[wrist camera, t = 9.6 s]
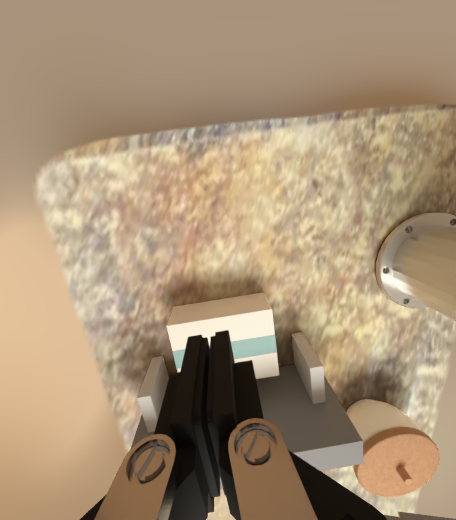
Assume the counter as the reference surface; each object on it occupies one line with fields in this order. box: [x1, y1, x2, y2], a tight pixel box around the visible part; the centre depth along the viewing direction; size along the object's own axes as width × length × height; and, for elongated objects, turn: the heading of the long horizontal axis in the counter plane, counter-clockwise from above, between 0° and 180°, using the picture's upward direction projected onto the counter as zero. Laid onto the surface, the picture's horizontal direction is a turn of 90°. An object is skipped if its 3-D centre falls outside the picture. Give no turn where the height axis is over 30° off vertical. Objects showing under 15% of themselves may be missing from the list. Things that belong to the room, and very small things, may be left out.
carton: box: [167, 292, 279, 379], centre depth 31 cm, size 12×9×5 cm
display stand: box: [130, 332, 363, 489], centre depth 30 cm, size 24×8×12 cm, turn 99°
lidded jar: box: [346, 399, 440, 497], centre depth 34 cm, size 11×11×9 cm
